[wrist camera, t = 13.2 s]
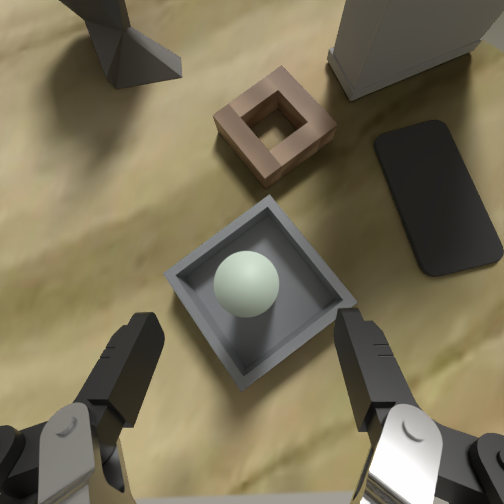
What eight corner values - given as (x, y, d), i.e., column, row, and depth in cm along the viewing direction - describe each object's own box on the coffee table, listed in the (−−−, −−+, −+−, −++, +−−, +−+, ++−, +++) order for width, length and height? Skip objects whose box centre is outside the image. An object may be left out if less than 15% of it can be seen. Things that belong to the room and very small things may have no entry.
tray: (246, 377, 23) (241, 392, 19) (178, 276, 25) (162, 273, 21) (345, 300, 23) (357, 302, 19) (270, 207, 25) (269, 194, 22)
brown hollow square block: (265, 189, 25) (265, 178, 23) (218, 131, 27) (212, 115, 25) (332, 140, 26) (338, 124, 23) (281, 85, 27) (281, 65, 25)
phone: (443, 116, 25) (509, 258, 22) (438, 122, 26) (501, 259, 23) (371, 136, 25) (427, 279, 22) (368, 141, 26) (421, 280, 23)
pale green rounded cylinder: (254, 315, 22) (238, 331, 13) (232, 284, 23) (201, 276, 13) (284, 292, 23) (292, 290, 13) (261, 262, 23) (252, 238, 13)
